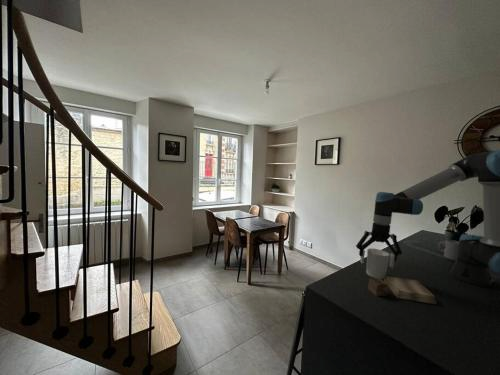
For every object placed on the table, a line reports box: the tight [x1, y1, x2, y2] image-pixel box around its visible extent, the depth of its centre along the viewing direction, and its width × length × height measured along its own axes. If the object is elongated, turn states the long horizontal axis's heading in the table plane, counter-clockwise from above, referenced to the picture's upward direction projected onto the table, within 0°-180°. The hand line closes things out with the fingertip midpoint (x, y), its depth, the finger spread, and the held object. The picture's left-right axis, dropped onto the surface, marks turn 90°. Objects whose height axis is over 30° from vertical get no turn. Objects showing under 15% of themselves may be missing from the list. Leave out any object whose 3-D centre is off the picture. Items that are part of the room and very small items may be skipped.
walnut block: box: [367, 277, 389, 297], centre depth 94 cm, size 5×5×5 cm
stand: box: [383, 275, 437, 305], centre depth 96 cm, size 14×14×3 cm
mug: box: [437, 239, 459, 261], centre depth 143 cm, size 12×8×11 cm
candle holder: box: [365, 248, 391, 280], centre depth 110 cm, size 10×10×12 cm
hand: (376, 264), depth 110 cm, fingers open, 13 cm apart
